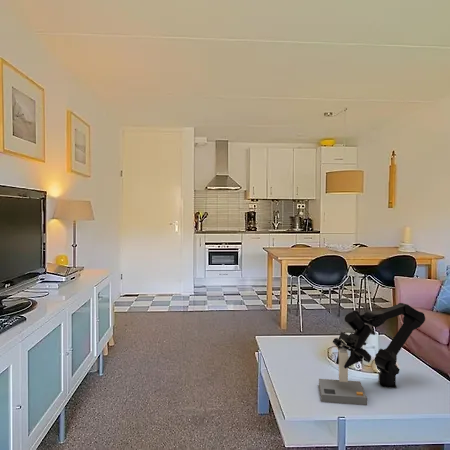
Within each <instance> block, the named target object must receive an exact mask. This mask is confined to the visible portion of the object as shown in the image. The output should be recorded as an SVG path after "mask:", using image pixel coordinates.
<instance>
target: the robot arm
mask: <svg viewBox="0 0 450 450" xmlns="http://www.w3.org/2000/svg"><path fill="white" fill-rule="evenodd" d="M401 315H402V316H403V317H402V325H401V326H400V327H399V329H398V331H397V332H396V334H395V335H394V337H393V338H392V339H391V341H390V342H389V344H388V345H387V347H386V348H380V349H378V351H377V353H376V354H375V357H374V364H375V367H376V369H377V370H379V372H378V376H377V377H378V378H377V379H378V381H377V382H378V383H379V384H380V386H381V387H382V388H391V389H392V388H395V389H396V388H397V385H396V381H397V379H396V378H397V377H396V376H397V375H399V374H400V371H401V370H400V368H399V366H398V365H396V364H397V362H398V361H397V359H398V358H397V357H398V356H397V355H398V354H399V352H400V351H401V349H402V348H403V346H404V344H405V343H406V342H407V340H409V337H410V336H411V335H412V333H413V331H414V330H417V329H419V328H420V327H421V326H422V325H424V323H425V321H426V316H425V313H424V312H422V311H419V310H417V309H415V308H413V307H412V306H411V305H409V304H408V303H404V302H399V303H397V304H395V305H392V306H390V307H386V308H384V309H380V310H368V311H365V312H364V313H363V314H360V312H359V311H358V310H355V309H354V310H353V311H351V312H348V314H346V315H345V316H344V322H346V324H347V325H348V326H349V327H350V328H351V329H352V330H354V333H352V332H351V333H349V334H347V333H345V332H343V331H341V332H340V334H339V337H336V338H334V339H333V340H332V344H334V346H336V348H337V349H338V352H337V357H336V359H335V360H336V361H335V364H336V365H339V349H346V350H347V351H349V352H350V355H349V357H348V360H347V362H346V363H345V366H344V368H348V369H349V368H350V367H352V366H353V365H355V364H357V363H359V362H364V361H365V362H366V363H370V362H371V361H372V355H371V354H370V353H369V352H368V351H367V350H366V349H364V348H363V346H366V345H367V343H366V341H367V340H368V338H369V337H370V335H372V336H375V335H376V331H375V328H379V327H380V326H382V325H384V323H385V321H388V320H390V319H393V318H396V317H399V316H401ZM373 327H374V328H373Z"/></svg>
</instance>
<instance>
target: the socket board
mask: <svg viewBox="0 0 450 450" xmlns="http://www.w3.org/2000/svg"><path fill="white" fill-rule="evenodd" d="M318 388H319V394H320V399H321V400H320V401H321V403H334V404H347V405H361V406H362V405H363V406H368V397H367V394H366V392H365V390H364V387H363V385H362V382H361V381H360V380H348V382H340V381H339V379H332V378H331V379H329V378H318Z"/></svg>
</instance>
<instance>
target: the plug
mask: <svg viewBox="0 0 450 450" xmlns="http://www.w3.org/2000/svg"><path fill="white" fill-rule="evenodd" d="M348 356H349V353H348V350H346V349H339V364H338V380H339V381H340V382H348V381H349V367H348V368H344V366H345V363H346V362H347V360H348V359H349V357H348Z"/></svg>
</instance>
